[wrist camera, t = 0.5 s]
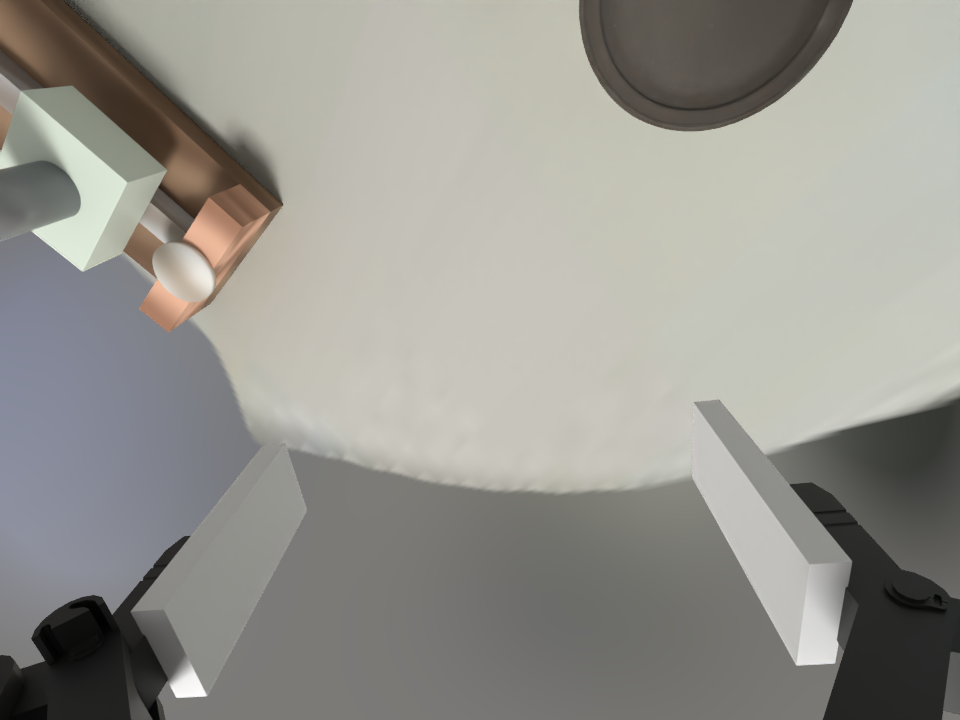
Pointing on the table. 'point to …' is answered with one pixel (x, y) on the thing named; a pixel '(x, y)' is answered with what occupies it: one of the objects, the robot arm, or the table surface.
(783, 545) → the robot arm
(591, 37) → the coffee can
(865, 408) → the table surface
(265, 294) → the table surface
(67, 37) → the rail board
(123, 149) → the carriage
